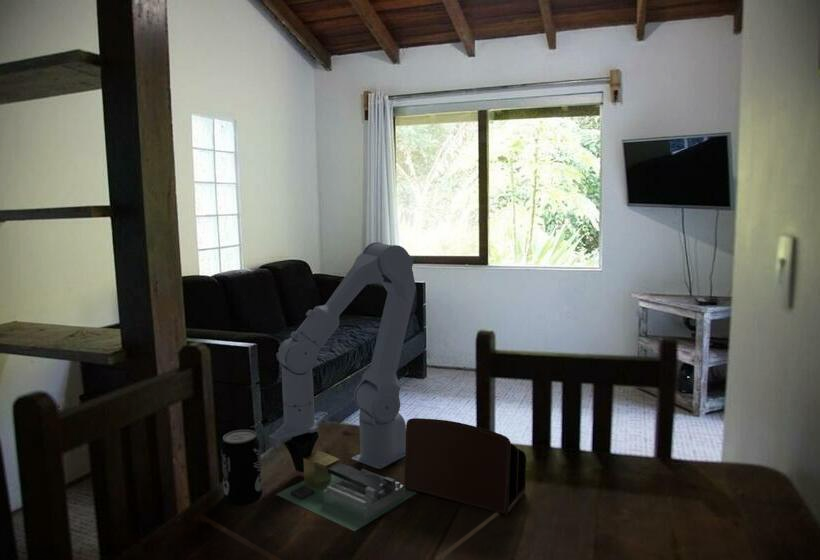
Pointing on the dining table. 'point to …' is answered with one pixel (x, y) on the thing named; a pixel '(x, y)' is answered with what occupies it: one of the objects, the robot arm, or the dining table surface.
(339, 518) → the board
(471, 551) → the dining table surface
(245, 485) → the beverage can
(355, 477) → the strap
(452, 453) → the letter holder
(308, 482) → the keeper
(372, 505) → the block
